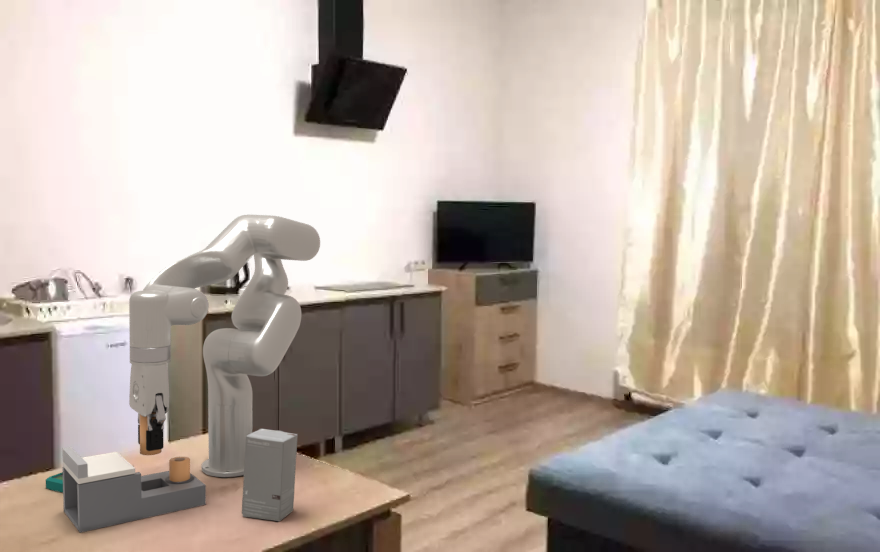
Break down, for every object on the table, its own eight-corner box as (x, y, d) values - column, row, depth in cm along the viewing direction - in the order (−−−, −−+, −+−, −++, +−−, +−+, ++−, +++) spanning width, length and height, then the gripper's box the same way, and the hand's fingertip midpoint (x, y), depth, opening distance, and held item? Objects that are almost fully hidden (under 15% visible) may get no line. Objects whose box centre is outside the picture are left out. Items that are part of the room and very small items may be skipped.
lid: (116, 456, 160) (116, 439, 160) (135, 473, 151) (135, 455, 151) (62, 466, 154) (62, 448, 154) (78, 484, 145) (78, 465, 145)
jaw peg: (137, 451, 159) (136, 410, 158) (157, 447, 161) (157, 408, 161) (143, 456, 156) (143, 415, 155) (164, 453, 158) (164, 412, 157)
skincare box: (241, 517, 155) (240, 436, 153) (259, 503, 161) (259, 426, 160) (281, 523, 152) (281, 441, 151) (297, 509, 159) (298, 430, 158)
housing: (183, 486, 170) (183, 445, 169) (205, 504, 160) (205, 461, 159) (63, 511, 155) (62, 466, 155) (79, 532, 146) (78, 485, 145)
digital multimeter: (125, 474, 177) (124, 461, 177) (70, 496, 164) (69, 482, 164) (100, 469, 180) (99, 456, 180) (43, 490, 167) (43, 477, 166)
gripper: (117, 349, 161) (118, 438, 163) (144, 364, 148) (145, 461, 150) (155, 345, 166) (155, 433, 167) (185, 360, 152) (185, 454, 154)
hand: (150, 445), depth 158 cm, fingers closed on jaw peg, 4 cm apart
